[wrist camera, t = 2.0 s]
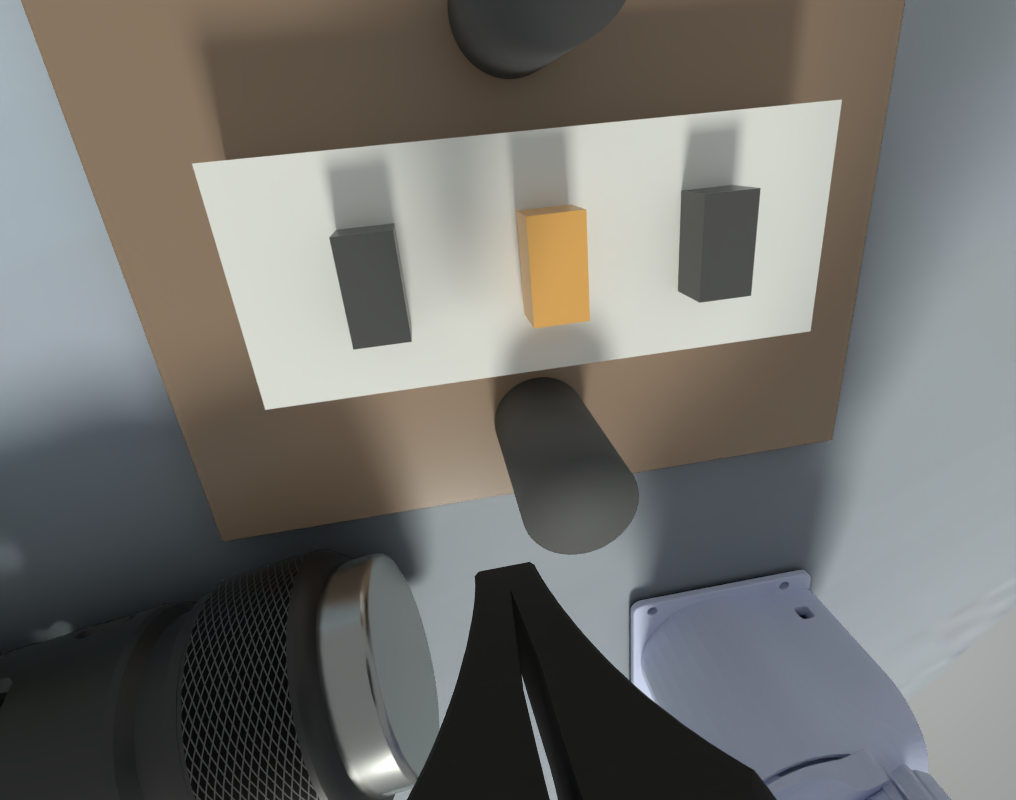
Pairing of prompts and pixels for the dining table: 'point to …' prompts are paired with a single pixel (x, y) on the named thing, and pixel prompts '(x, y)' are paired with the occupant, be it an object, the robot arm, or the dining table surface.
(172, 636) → the muzzle brake
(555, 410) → the post
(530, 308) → the orange block
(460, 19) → the post
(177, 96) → the breaker panel
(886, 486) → the dining table surface
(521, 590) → the robot arm
